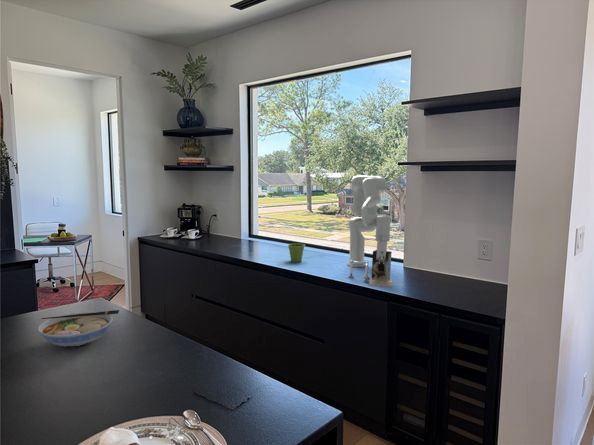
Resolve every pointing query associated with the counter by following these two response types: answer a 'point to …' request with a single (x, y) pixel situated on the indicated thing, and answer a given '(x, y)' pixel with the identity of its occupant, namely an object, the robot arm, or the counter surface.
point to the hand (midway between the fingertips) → (381, 269)
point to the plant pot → (296, 252)
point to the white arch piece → (365, 270)
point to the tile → (381, 283)
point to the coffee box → (386, 274)
